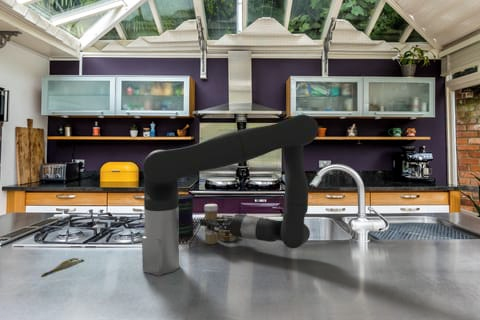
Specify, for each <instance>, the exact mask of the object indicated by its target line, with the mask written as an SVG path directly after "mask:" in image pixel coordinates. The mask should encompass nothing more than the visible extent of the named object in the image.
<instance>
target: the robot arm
mask: <svg viewBox="0 0 480 320" xmlns="http://www.w3.org/2000/svg"><path fill="white" fill-rule="evenodd" d="M318 133H319V125H318V122H317V121H316V120H315V118H313V117H311V116H310V115H306V114H298V115H294V116H293V117H290V118H288V119H286V120H285V119H284V120H282V121H279V122H276V123H272V124H269V125H263V126H255V127H250V128H243V129H238V130H233V131H231V132H226V133H223V134H219V135H216V136H212V137H211V138H208V139H205V140H204V141H201V142H198V143H196V144H192V145H189V146H185V147H181V148H180V147H179V148H173V149H167V150H166V149H156V150H153V151H151V152H150V153H149V154H148V155H147V156H146V157H145V159H144V161H143V164H142V173H143V175H144V179H143V181H144V183H143V184H144V186H143V187H144V190H143V191H144V195H143V196H144V197H143V206H144V207H143V209H144V211H143V212H144V215H143V216H144V221H143V222H144V236H143V237H142V238H141V246H142V247H141V249H142V251H141V252H142V253H141V254H142V257H141V261H142V262H141V264H142V272H145V273H148V274H151V275H155V276H161V275H165V274H170V273H173V272H175V271H177V270H178V269H179V267H180V244H179V243H180V241H179V240H180V239H179V220H178V217H179V216H178V194H179V188H178V187H179V186H178V185H179V183H178V182H179V181H178V180H179V179H181V178H182V179H183V178H184V177H187V176H189V175H193V174H195V173H199V172H202V171H210V170H215V169H220V168H224V167H229V166H234V165H237V164H241V163H244V162H247V161H250V160H253V159H256V158H258V157H261V156H264V155H266V154H268V153H271V152H274V151H276V150H280V149H282V152H283V163H284V164H283V165H284V210H283V215H282V220H277V219H270V218H263V217H258V216H255V215H247V214H241V213H236V214H234V215H221V216H220V215H219V216H218V215H217V219H216V220H206V219H205V218H201V219H199V225H200V226H201V227H205V226H207V230H210V231H213V232H216V233H219V232H220V230H223V231H230V232H231V234H232V236H234V237H237V238H241V239H244V240H245V239H246V240H253V241H262V242H266V243H268V242H270V243H273V242H282V243H283V245H285V246H286V247H287V248H289V249H297V248H300V247H301V246H302V245H304V244H306V243H307V242H308V241H309V239H310V237H311V233H310V229H309V227H308V226H307V224H305V216H306V214H308V213H307V212H308V211H309V210H308V209H309V208H308V207H309V185H308V179H307V176H306V175H307V174H306V172H305V167H304V159H303V158H304V157H303V155H304V146H306V145H309V144H311V143H312V142H313V141H314V140H315V139H316V138H317V136H318V135H319V134H318Z"/></svg>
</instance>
